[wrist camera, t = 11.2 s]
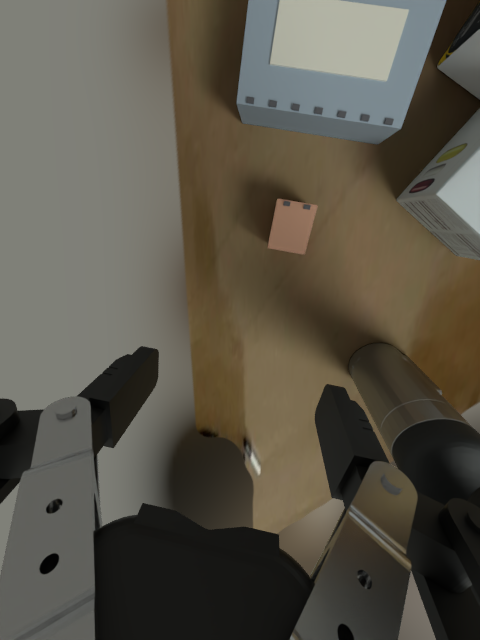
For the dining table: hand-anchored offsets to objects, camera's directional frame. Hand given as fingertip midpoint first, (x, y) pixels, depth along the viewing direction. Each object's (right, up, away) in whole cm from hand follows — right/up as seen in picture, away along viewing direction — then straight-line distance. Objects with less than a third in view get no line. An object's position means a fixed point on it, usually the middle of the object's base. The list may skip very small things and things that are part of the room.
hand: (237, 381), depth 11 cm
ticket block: (+10, +32, +18) cm, 38 cm away
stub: (+7, +17, +25) cm, 31 cm away
